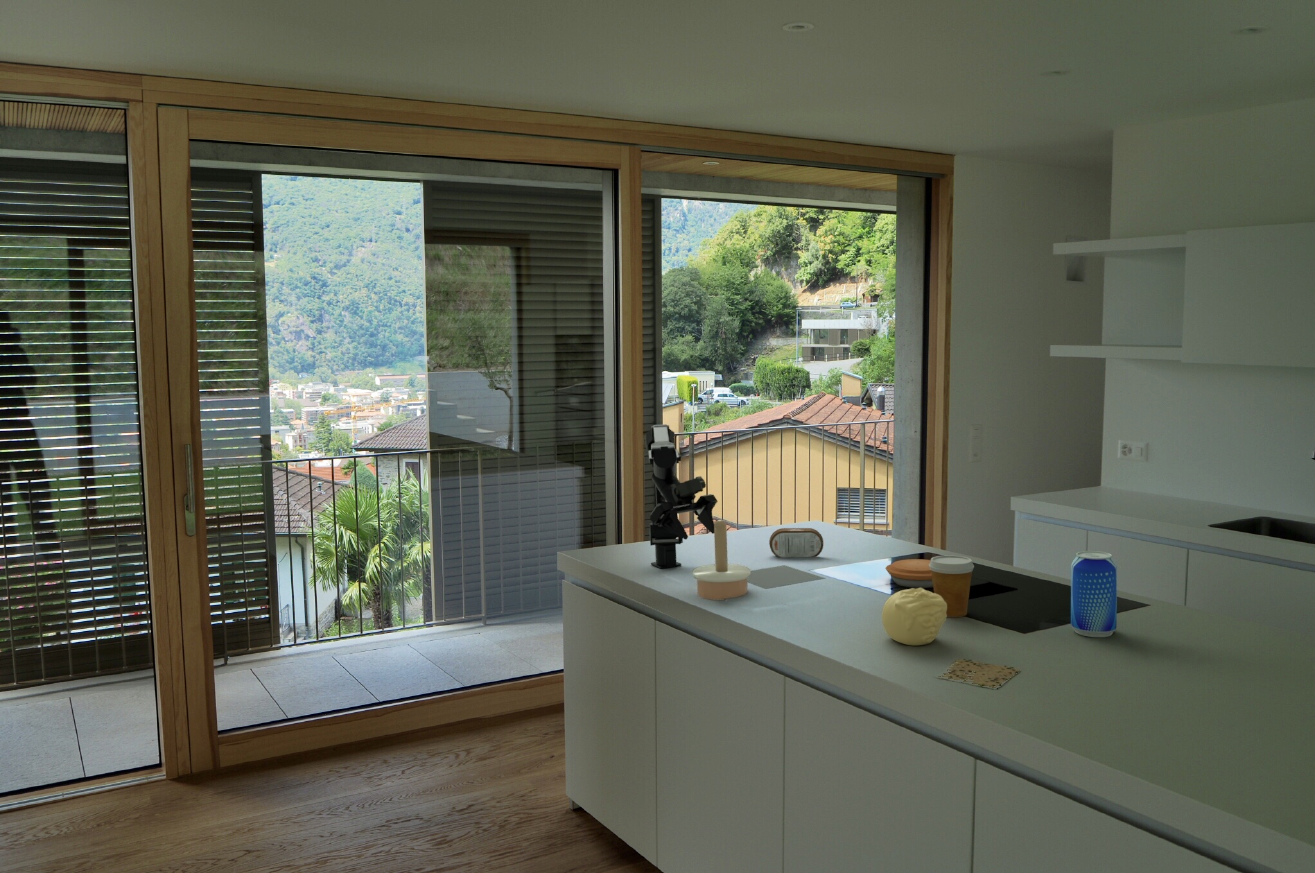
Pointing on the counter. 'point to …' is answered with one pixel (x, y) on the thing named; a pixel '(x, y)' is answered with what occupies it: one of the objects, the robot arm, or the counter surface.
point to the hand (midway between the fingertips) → (700, 535)
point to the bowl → (721, 589)
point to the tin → (796, 542)
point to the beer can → (1094, 594)
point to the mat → (779, 577)
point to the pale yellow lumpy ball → (914, 616)
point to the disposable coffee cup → (952, 582)
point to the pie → (911, 573)
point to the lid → (721, 561)
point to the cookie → (980, 672)
